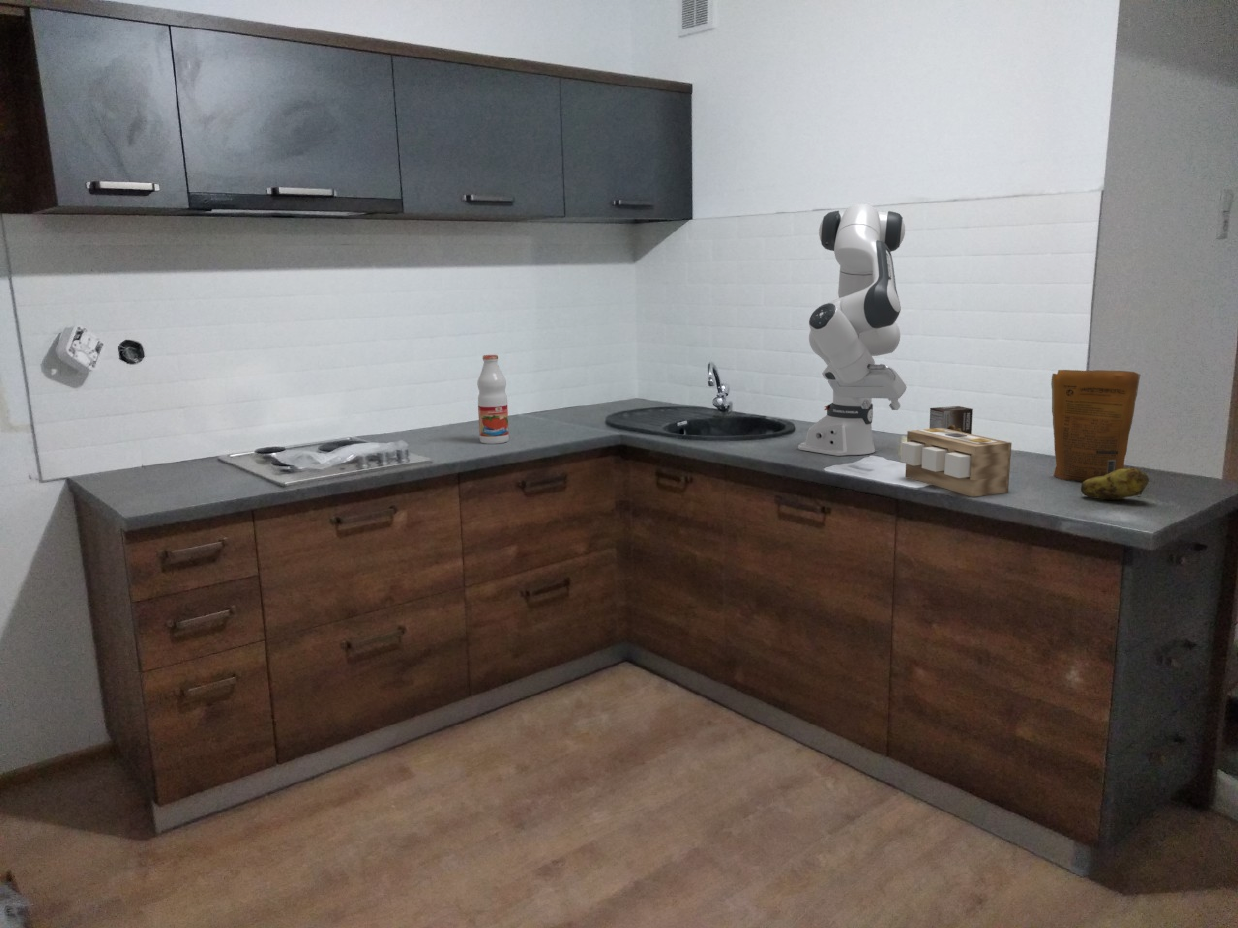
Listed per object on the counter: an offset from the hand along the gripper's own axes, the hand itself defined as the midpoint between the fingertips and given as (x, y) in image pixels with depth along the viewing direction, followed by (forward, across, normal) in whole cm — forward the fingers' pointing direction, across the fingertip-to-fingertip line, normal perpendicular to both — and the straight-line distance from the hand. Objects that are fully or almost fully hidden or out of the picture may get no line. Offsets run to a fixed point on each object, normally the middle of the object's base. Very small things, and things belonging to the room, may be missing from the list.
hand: (881, 407), depth 221 cm
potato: (+40, -37, -12) cm, 56 cm away
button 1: (+22, +2, -3) cm, 22 cm away
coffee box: (+36, +8, -14) cm, 40 cm away
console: (+27, -6, -1) cm, 28 cm away
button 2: (+21, -14, 0) cm, 25 cm away
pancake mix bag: (+46, -23, -22) cm, 57 cm away
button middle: (+21, -6, -1) cm, 22 cm away
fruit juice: (-25, +118, +47) cm, 129 cm away
